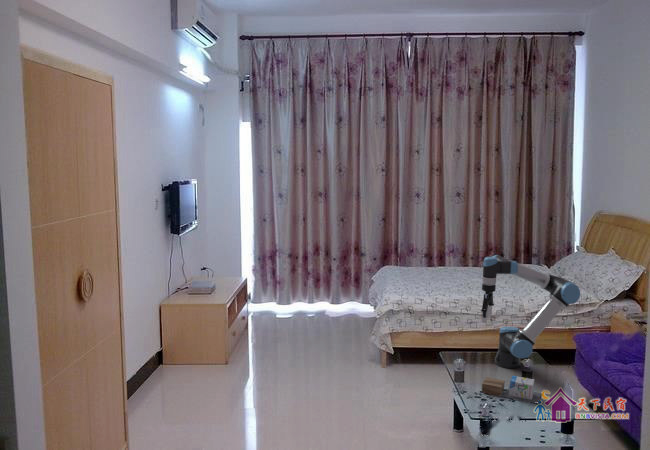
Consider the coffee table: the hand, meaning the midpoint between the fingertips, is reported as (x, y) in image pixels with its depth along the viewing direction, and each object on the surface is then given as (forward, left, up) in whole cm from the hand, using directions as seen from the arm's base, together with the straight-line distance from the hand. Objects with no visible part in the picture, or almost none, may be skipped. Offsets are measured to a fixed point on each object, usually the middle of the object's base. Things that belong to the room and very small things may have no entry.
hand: (486, 319), depth 336 cm
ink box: (+21, +19, -28) cm, 40 cm away
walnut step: (+22, +10, -33) cm, 41 cm away
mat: (+20, +26, -33) cm, 46 cm away
